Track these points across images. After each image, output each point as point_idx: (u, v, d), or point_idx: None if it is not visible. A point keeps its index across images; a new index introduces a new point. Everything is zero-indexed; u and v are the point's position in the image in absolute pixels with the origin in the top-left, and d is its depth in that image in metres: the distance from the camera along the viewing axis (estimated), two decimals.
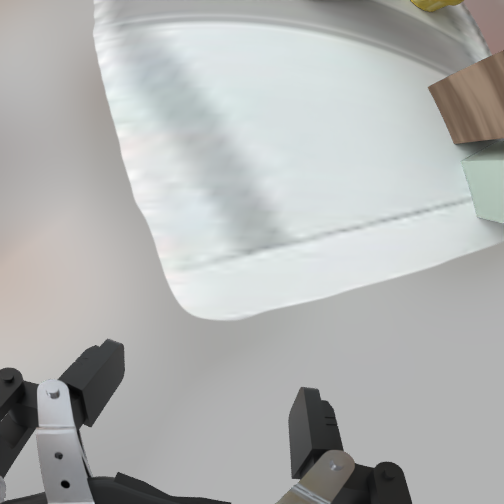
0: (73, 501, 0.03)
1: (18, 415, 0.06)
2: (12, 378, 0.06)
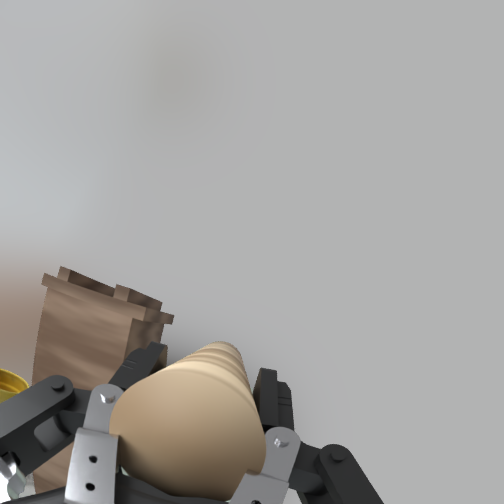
0: None
1: (61, 422, 0.07)
2: (61, 387, 0.07)
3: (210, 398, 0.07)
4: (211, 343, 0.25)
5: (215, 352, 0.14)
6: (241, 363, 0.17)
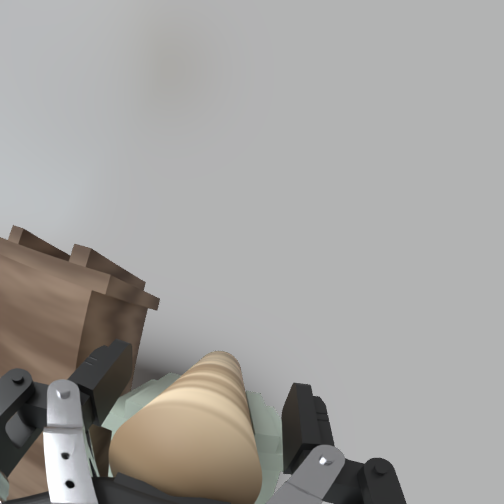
0: (77, 501, 0.03)
1: (26, 416, 0.06)
2: (21, 379, 0.06)
3: (209, 434, 0.06)
4: (211, 353, 0.25)
5: (215, 371, 0.14)
6: (240, 379, 0.17)
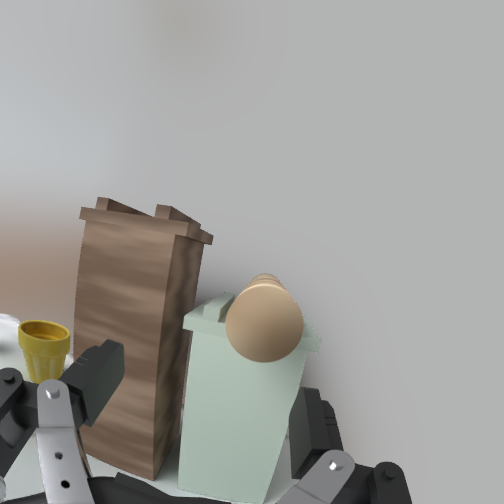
0: (73, 501, 0.03)
1: (18, 415, 0.06)
2: (12, 378, 0.06)
3: (284, 303, 0.16)
4: (263, 274, 0.35)
5: (276, 281, 0.24)
6: None
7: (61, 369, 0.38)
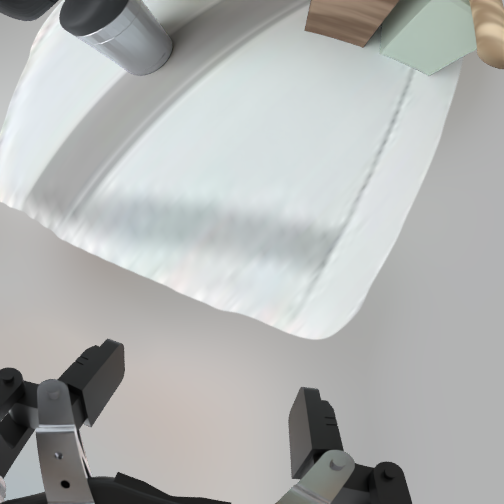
0: (73, 501, 0.03)
1: (18, 415, 0.06)
2: (12, 378, 0.06)
3: None
4: None
5: None
6: None
7: None
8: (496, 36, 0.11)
